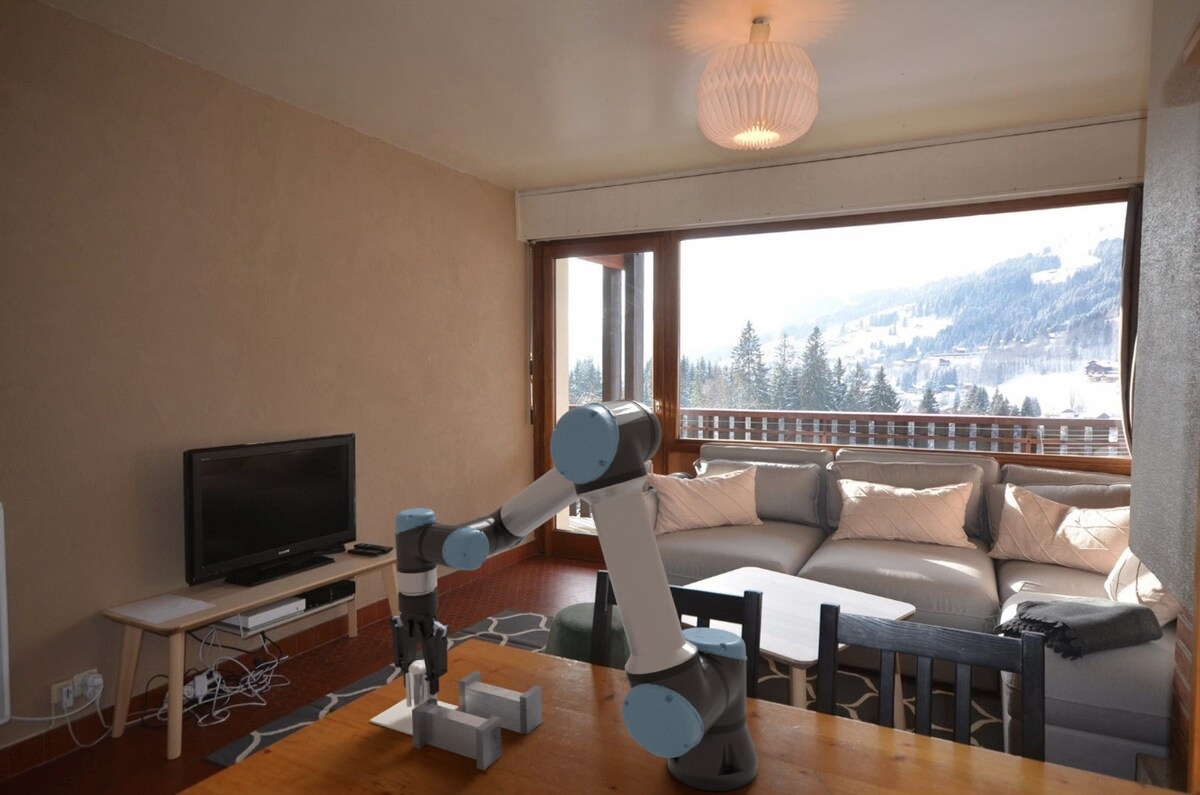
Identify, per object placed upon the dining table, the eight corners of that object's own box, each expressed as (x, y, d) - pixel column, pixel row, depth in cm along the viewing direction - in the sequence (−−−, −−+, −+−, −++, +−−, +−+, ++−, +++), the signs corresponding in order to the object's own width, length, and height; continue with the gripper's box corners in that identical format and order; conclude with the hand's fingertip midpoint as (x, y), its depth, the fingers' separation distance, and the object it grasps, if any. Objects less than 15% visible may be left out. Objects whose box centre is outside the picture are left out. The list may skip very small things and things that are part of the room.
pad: (458, 708, 147) (458, 706, 147) (416, 736, 136) (416, 734, 136) (413, 695, 153) (413, 693, 153) (369, 721, 142) (369, 719, 142)
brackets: (542, 722, 141) (541, 686, 140) (483, 770, 125) (482, 730, 125) (476, 704, 149) (474, 670, 148) (413, 747, 133) (411, 709, 132)
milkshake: (430, 715, 141) (430, 664, 140) (404, 711, 142) (404, 661, 141) (440, 703, 145) (440, 654, 144) (414, 699, 146) (414, 651, 145)
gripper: (465, 589, 141) (468, 707, 143) (398, 577, 149) (403, 689, 151) (438, 602, 134) (443, 725, 136) (371, 588, 143) (375, 705, 144)
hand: (422, 706), depth 144 cm, fingers closed on milkshake, 4 cm apart
